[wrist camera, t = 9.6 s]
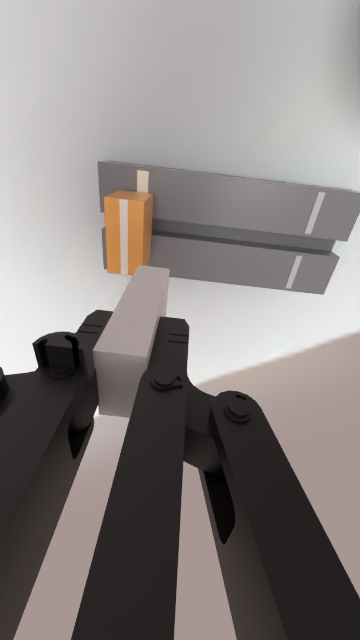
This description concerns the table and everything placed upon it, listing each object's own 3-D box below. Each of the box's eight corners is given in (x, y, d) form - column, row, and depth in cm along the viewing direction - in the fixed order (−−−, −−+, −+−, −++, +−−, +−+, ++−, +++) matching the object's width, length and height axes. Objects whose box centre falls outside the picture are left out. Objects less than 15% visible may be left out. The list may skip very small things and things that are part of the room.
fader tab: (125, 187, 25) (103, 197, 19) (156, 191, 25) (143, 201, 19) (126, 248, 28) (107, 273, 22) (153, 251, 28) (141, 277, 22)
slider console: (107, 161, 25) (97, 161, 23) (350, 190, 26) (368, 193, 23) (111, 259, 31) (103, 269, 28) (312, 283, 31) (323, 295, 28)
